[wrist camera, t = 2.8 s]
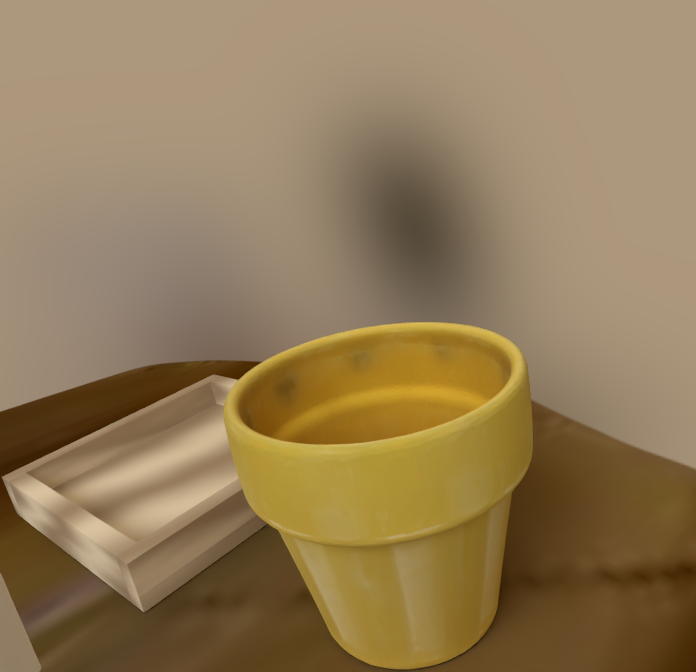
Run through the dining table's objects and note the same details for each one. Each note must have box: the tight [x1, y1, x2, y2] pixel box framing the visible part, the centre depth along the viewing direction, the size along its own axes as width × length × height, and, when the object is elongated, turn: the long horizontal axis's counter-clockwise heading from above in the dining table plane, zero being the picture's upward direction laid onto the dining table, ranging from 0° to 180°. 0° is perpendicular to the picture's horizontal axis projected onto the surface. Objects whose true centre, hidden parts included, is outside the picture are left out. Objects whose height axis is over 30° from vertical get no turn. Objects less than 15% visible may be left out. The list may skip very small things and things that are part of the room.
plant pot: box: [223, 322, 533, 670], centre depth 23 cm, size 10×10×10 cm
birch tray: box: [2, 375, 267, 613], centre depth 37 cm, size 15×15×2 cm
